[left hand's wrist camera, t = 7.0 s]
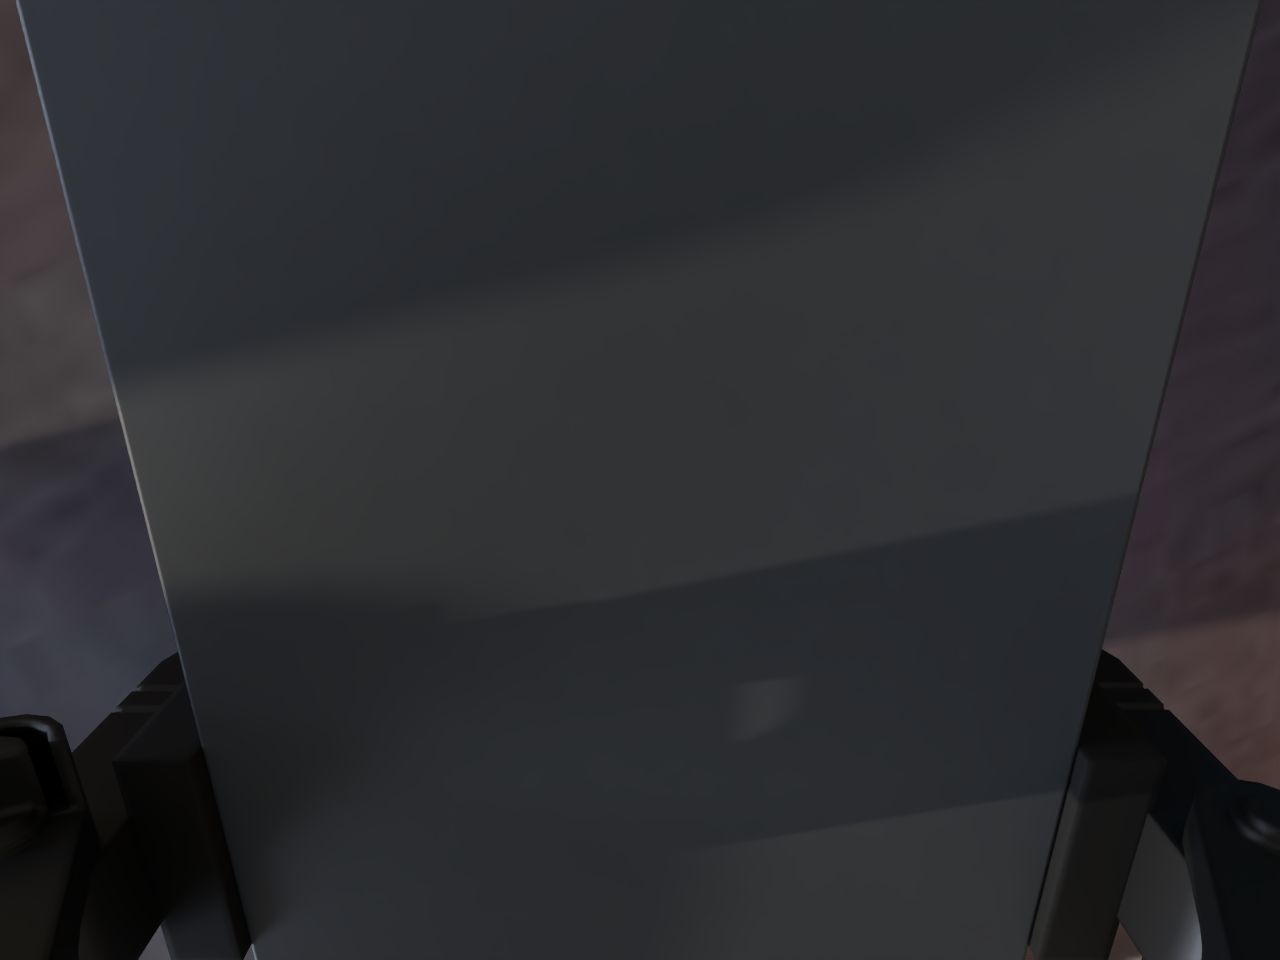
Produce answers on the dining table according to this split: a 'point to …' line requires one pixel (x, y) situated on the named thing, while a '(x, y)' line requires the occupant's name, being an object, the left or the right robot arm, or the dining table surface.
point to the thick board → (639, 442)
